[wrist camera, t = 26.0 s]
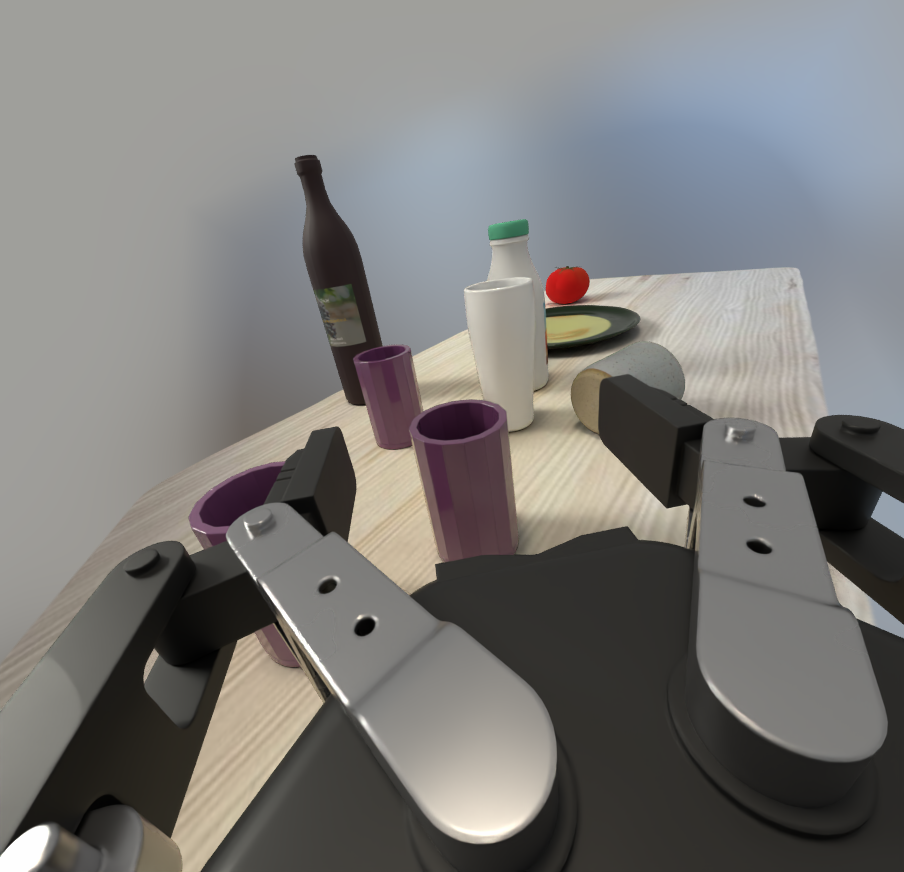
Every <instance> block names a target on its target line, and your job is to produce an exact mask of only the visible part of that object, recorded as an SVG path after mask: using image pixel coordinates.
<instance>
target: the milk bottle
mask: <svg viewBox="0 0 904 872" xmlns="http://www.w3.org/2000/svg"><path fill="white" fill-rule="evenodd" d="M528 230H529V228H528V221H527V220H526V219H523V220H517V221H510V222H504V223H499V224H494V225H491V226H489V228H488V233H489V240H491V241H490V246H491V247H492V262H491V268H490V272H489V275H488V279H487V281H491V280H497V279H504V278H515V277H527V278H531V279H532V280H533V288H534V298H535V316H536V332H535V361H534V391H535V390H538V389H540V388H542V387H543V386H545V385H546V383H547V381H548V352H547V329H546V309H545V297H544V291H543V286H542V283H541V280H540V277H539V276H538V273H537V271H536V269H535V267H534V265H533V263H532V261H531V258H530V255H529V252H528V247H527V241H528V239H529V238H528V233H529V231H528Z"/></svg>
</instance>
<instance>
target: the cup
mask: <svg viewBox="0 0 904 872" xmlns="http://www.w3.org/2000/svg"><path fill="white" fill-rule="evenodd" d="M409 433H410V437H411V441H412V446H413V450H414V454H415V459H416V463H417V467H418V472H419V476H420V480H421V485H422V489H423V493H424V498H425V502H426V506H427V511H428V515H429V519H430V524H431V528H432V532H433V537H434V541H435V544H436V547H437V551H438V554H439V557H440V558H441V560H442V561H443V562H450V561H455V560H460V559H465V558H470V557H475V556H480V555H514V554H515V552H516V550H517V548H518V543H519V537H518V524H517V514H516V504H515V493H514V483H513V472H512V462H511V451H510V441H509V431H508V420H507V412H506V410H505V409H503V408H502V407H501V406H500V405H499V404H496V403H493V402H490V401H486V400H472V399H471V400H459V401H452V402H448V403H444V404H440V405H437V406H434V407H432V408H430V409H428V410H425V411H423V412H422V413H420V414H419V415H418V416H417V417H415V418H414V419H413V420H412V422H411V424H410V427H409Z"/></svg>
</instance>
